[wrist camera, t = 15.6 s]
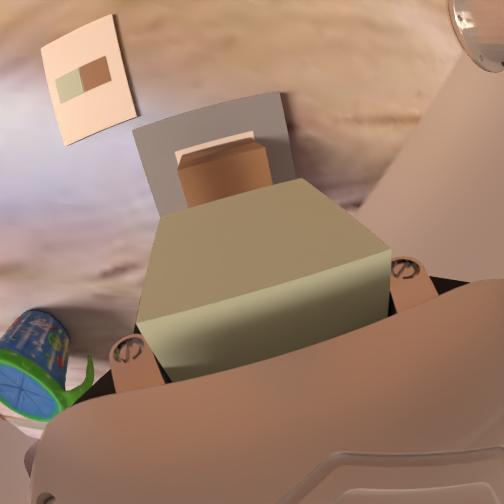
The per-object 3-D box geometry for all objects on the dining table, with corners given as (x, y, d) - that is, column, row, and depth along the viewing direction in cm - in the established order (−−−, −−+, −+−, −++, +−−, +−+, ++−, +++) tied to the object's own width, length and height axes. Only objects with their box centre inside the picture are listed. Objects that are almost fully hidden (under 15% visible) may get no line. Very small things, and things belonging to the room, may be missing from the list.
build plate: (275, 91, 23) (279, 91, 21) (299, 218, 28) (304, 223, 27) (134, 129, 22) (131, 130, 21) (176, 253, 28) (176, 259, 27)
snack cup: (101, 312, 30) (79, 384, 21) (103, 372, 34) (91, 437, 25) (-10, 282, 25) (-51, 338, 16) (5, 344, 29) (-21, 399, 20)
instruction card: (112, 14, 17) (111, 13, 16) (137, 116, 22) (136, 116, 21) (42, 48, 16) (40, 48, 16) (66, 146, 21) (64, 146, 21)
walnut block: (249, 137, 23) (265, 147, 18) (262, 199, 26) (281, 226, 20) (181, 155, 23) (177, 170, 17) (200, 216, 25) (201, 248, 20)
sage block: (301, 177, 11) (391, 248, 6) (318, 292, 14) (377, 390, 9) (160, 216, 11) (135, 323, 6) (203, 325, 14) (216, 440, 8)
